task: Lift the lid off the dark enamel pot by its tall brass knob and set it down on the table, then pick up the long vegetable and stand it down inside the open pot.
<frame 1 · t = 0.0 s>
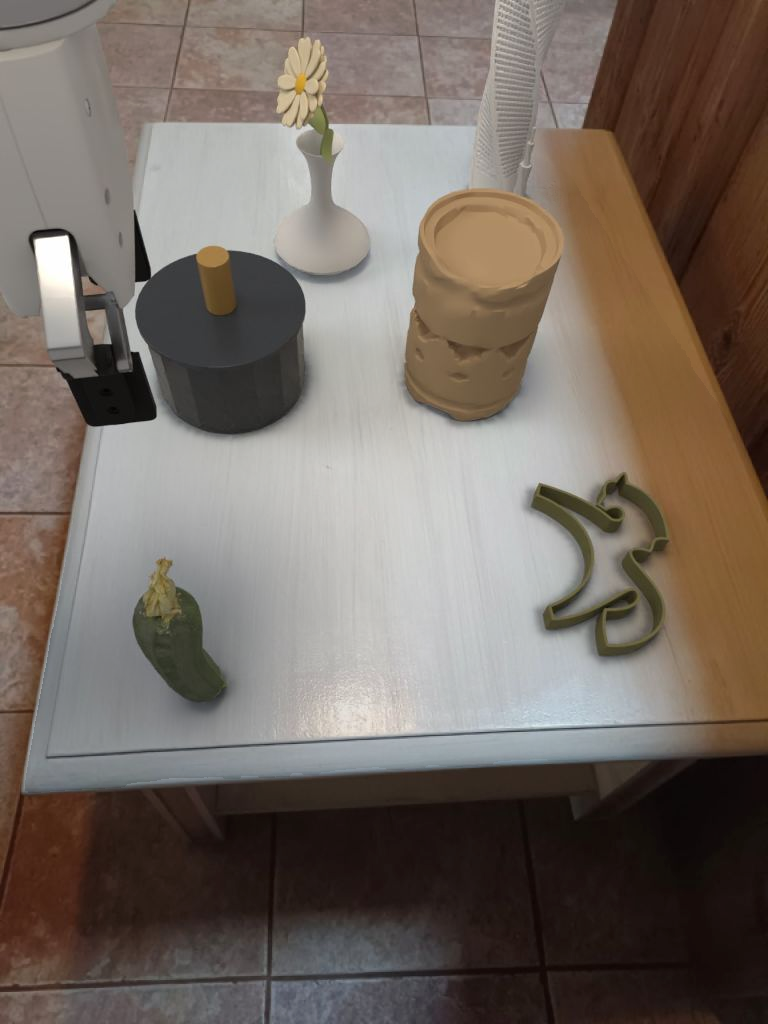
hand: (122, 344, 37), 30 cm above the table, tool pointing down, fingers open, 9 cm apart
lid: (222, 309, 68), point 9 cm above the table, touching pot
cookie cutter: (599, 563, 66), on the table
flower in vase: (322, 258, 87), on the table
skyscraper: (489, 207, 94), on the table
pot: (234, 378, 76), on the table
container: (461, 377, 78), on the table
vegetable: (201, 690, 58), on the table
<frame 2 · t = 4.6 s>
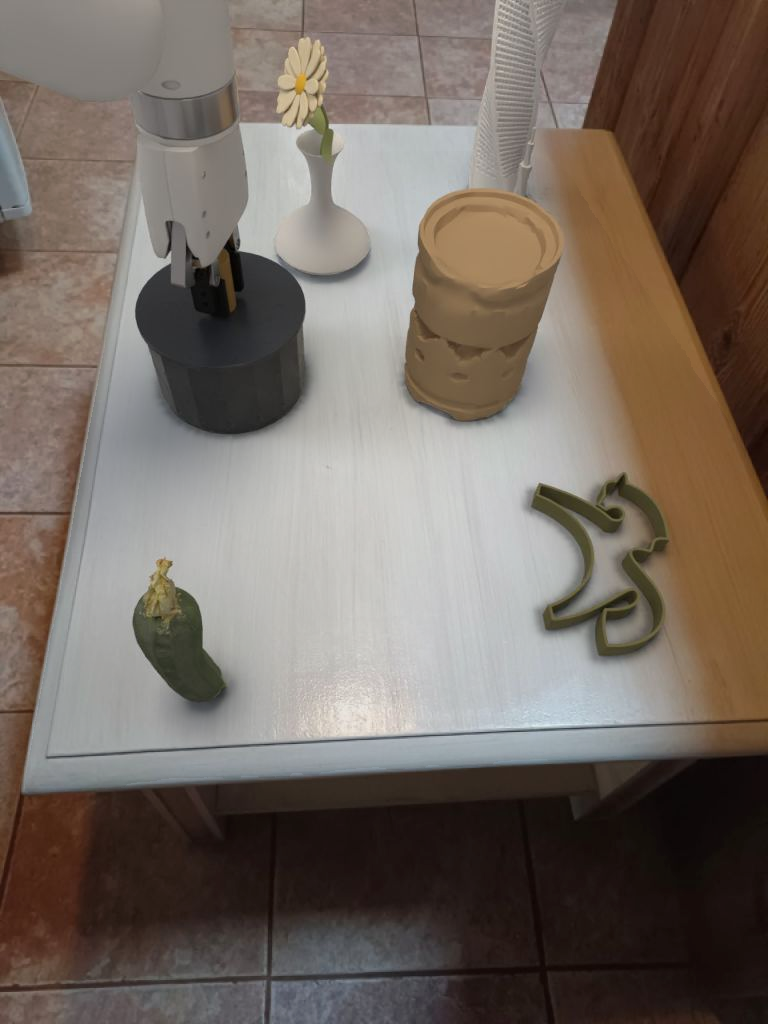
hand: (220, 298, 66), 11 cm above the table, tool pointing down, fingers closed on lid, 2 cm apart
lid: (222, 309, 68), point 10 cm above the table, touching gripper, pot
everything else where it was.
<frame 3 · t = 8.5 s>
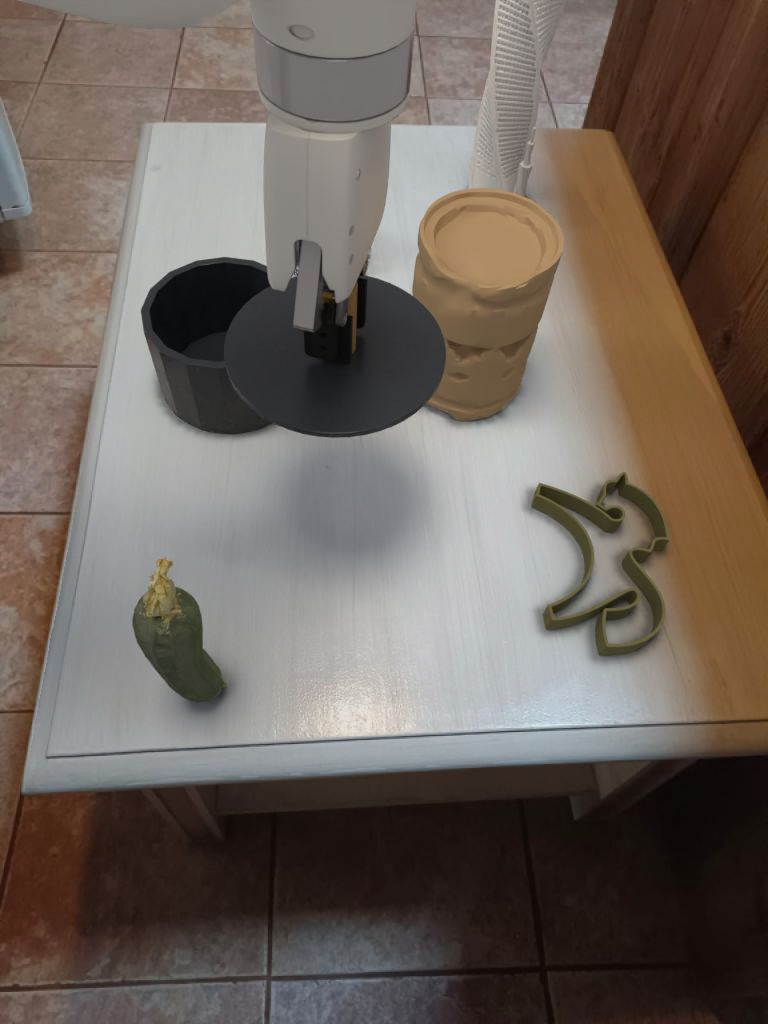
hand: (335, 337, 50), 21 cm above the table, tool pointing down, fingers closed on lid, 2 cm apart
lid: (336, 351, 51), point 20 cm above the table, touching gripper
everything else where it was.
when the fingers open (2 cm above the table, at t = 12.8 s): lid stays where it is, point 1 cm above the table.
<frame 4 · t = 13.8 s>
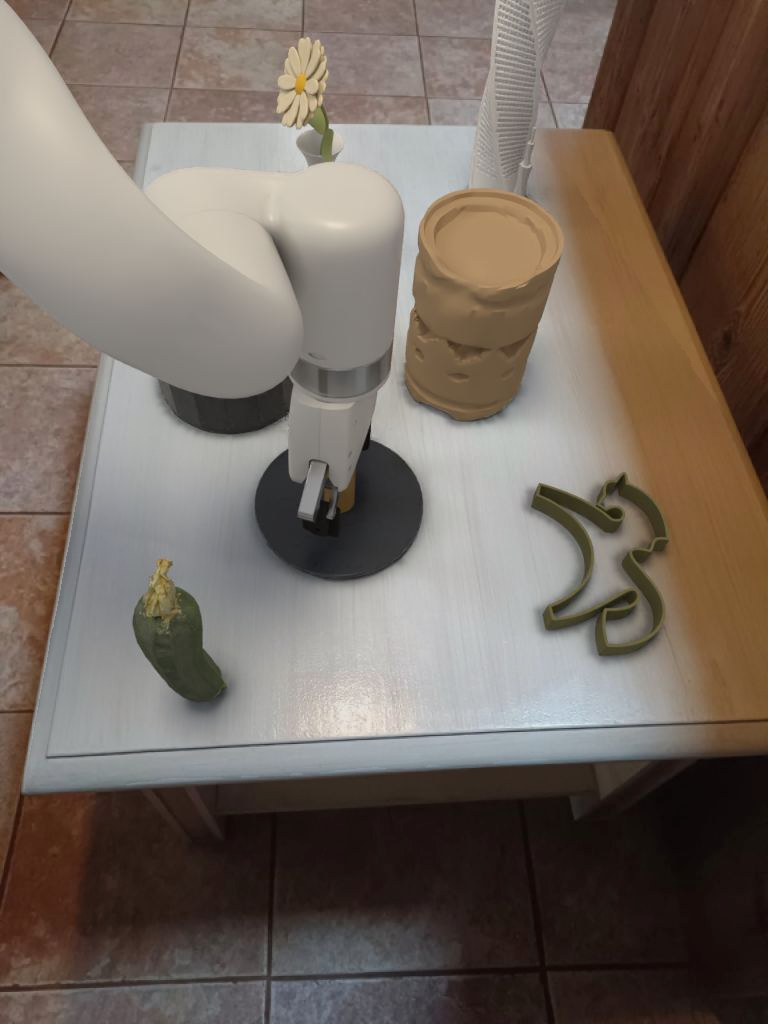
hand: (337, 486, 65), 4 cm above the table, tool pointing down, fingers open, 9 cm apart
lid: (339, 503, 67), point 1 cm above the table
everything else where it was.
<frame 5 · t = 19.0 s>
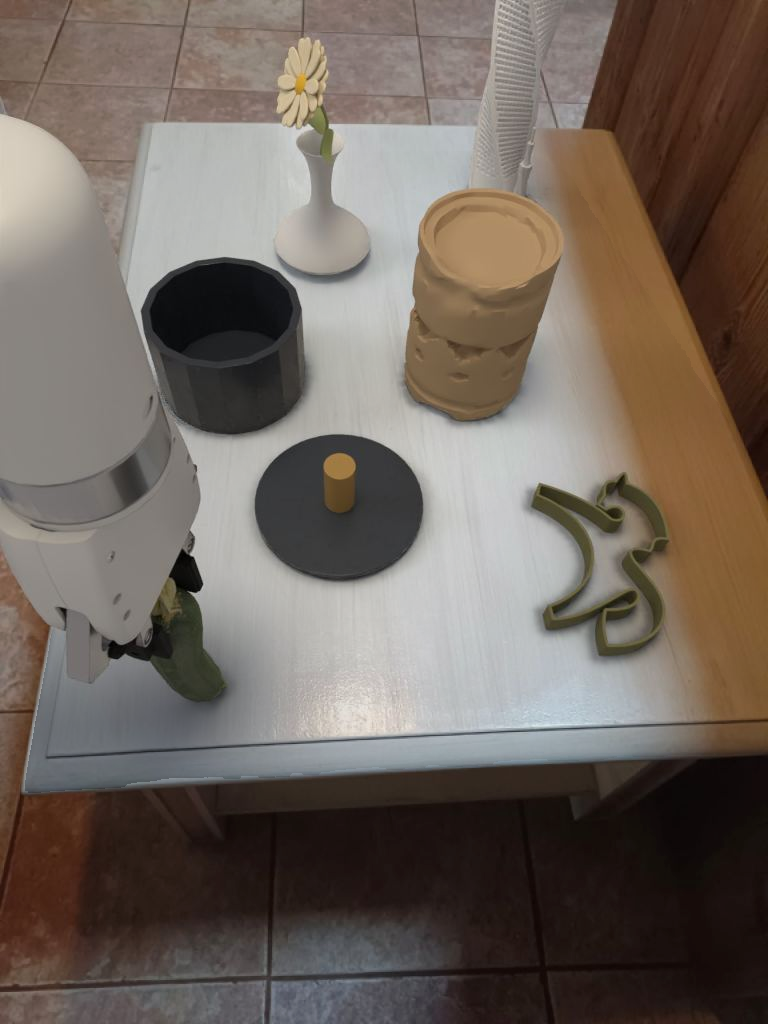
hand: (164, 614, 46), 15 cm above the table, tool pointing down, fingers closed on vegetable, 4 cm apart
vegetable: (201, 690, 58), on the table, touching gripper
everything else where it was.
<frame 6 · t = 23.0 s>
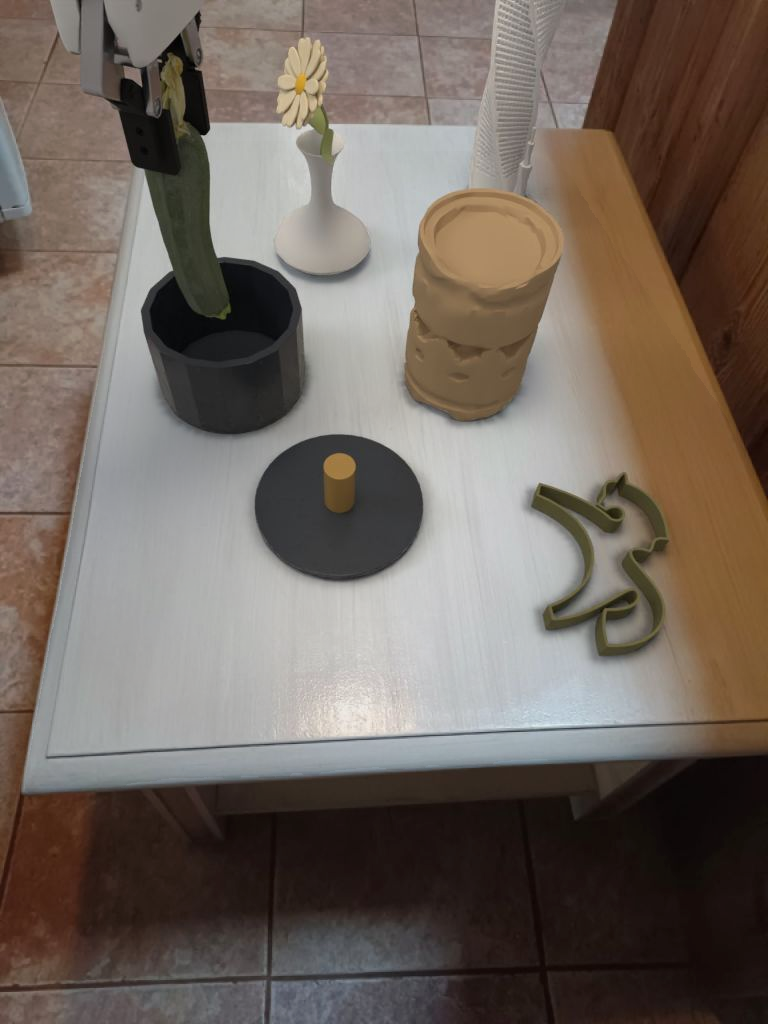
hand: (172, 146, 47), 29 cm above the table, tool pointing down, fingers closed on vegetable, 4 cm apart
vegetable: (206, 319, 60), point 14 cm above the table, touching gripper
everything else where it was.
when the fingers open (15 cm above the table, at t = 27.1 s): vegetable stays where it is, resting on pot.
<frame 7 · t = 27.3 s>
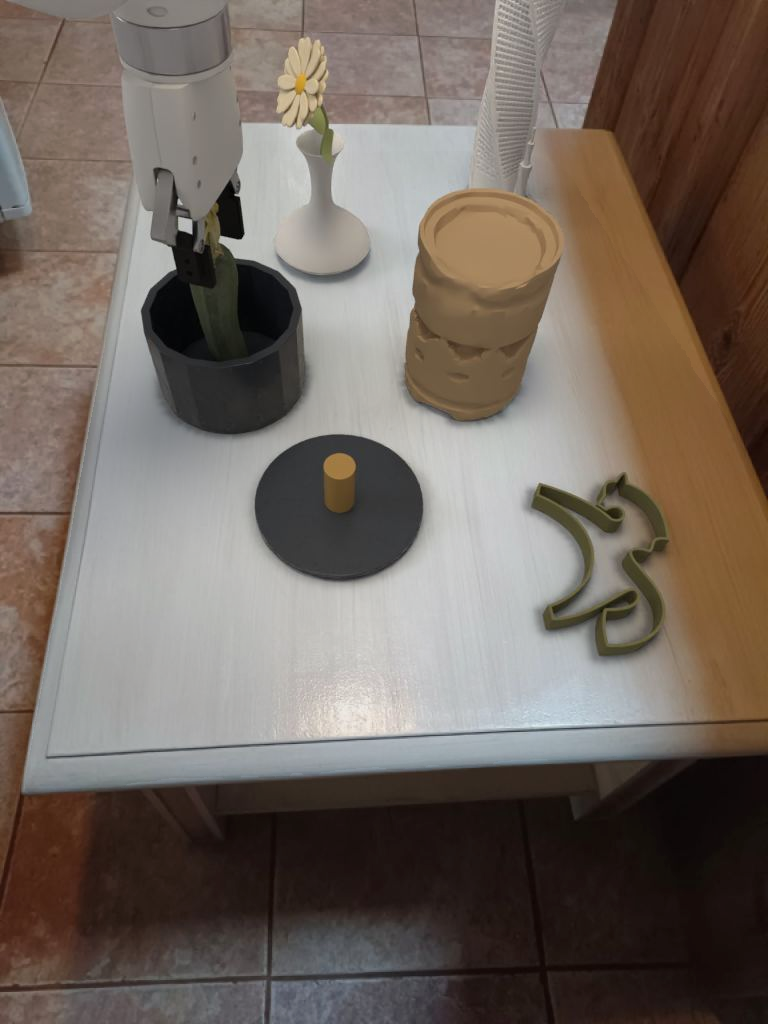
hand: (212, 256, 63), 15 cm above the table, tool pointing down, fingers open, 5 cm apart
vegetable: (233, 378, 75), resting on pot
everything else where it was.
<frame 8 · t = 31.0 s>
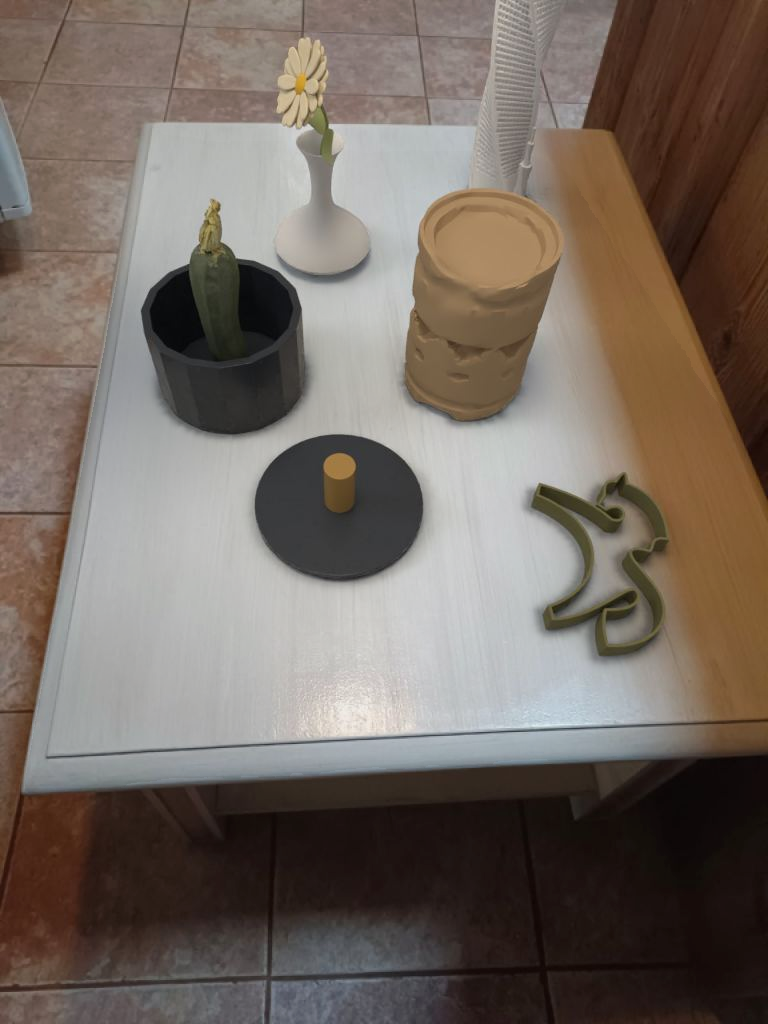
nothing on the table moved.
at the end: lid inside the target area (0.0 cm from its centre), point 0.6 cm above the table; vegetable inside the target area in the pot (0.2 cm from its centre), point 0.3 cm above the pot's base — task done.
